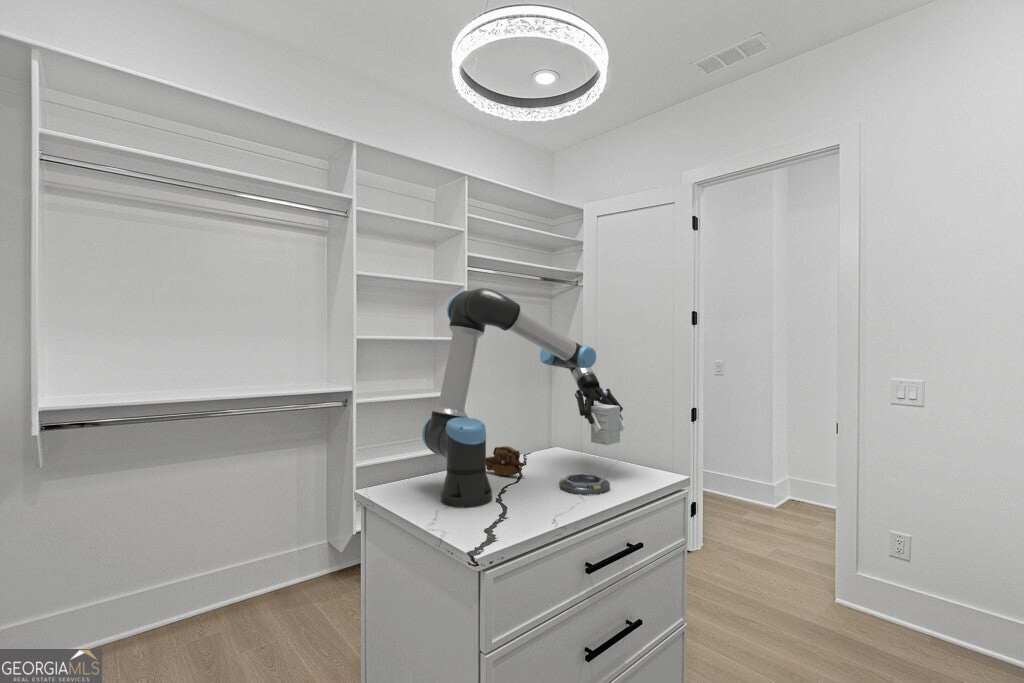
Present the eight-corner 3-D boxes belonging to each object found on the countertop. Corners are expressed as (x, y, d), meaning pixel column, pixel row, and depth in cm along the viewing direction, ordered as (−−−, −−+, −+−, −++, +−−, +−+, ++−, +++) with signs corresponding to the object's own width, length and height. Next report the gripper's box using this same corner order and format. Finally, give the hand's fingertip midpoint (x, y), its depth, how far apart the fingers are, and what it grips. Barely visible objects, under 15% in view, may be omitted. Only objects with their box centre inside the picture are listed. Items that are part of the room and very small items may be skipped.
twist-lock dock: (575, 497, 149) (575, 488, 149) (550, 483, 164) (550, 475, 164) (620, 491, 155) (619, 482, 155) (592, 478, 170) (592, 470, 170)
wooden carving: (480, 474, 177) (480, 445, 177) (487, 471, 181) (487, 443, 181) (521, 480, 168) (521, 450, 168) (527, 477, 172) (527, 448, 172)
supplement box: (603, 439, 177) (603, 403, 177) (620, 442, 172) (620, 405, 172) (590, 442, 172) (590, 405, 172) (607, 445, 167) (607, 407, 167)
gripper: (606, 385, 190) (632, 434, 176) (556, 387, 182) (578, 438, 167) (615, 372, 185) (642, 421, 171) (563, 373, 177) (587, 425, 162)
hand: (610, 429), depth 169 cm, fingers closed on supplement box, 9 cm apart
